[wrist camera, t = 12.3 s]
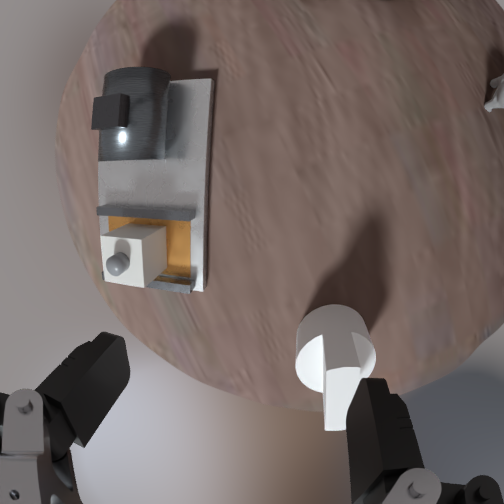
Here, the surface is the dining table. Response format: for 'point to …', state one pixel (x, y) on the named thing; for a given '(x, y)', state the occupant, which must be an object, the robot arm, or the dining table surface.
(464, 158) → the dining table surface
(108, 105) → the motor mount
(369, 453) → the robot arm
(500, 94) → the dog figurine
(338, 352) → the white appliance knob
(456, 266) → the dining table surface
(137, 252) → the cube with round knob
